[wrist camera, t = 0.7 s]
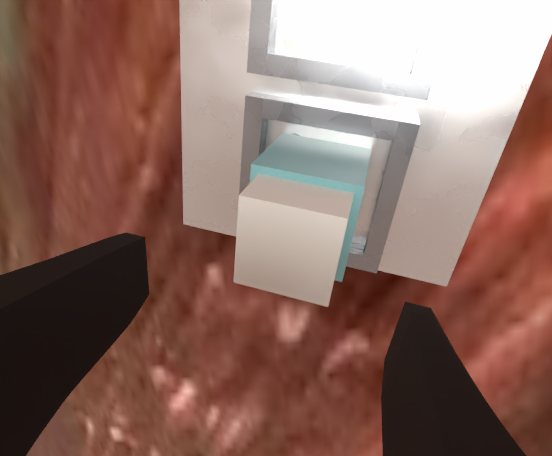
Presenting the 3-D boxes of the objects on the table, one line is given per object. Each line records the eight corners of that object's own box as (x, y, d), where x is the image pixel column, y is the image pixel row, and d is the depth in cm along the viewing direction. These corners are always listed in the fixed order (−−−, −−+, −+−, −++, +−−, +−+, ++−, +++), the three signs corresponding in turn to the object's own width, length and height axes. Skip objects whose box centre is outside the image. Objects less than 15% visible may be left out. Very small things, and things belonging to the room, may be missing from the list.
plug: (371, 148, 17) (360, 212, 11) (352, 228, 18) (335, 316, 13) (282, 132, 17) (229, 184, 12) (273, 211, 19) (225, 286, 14)
